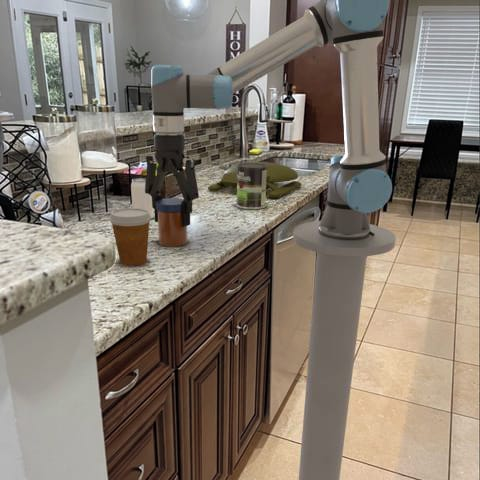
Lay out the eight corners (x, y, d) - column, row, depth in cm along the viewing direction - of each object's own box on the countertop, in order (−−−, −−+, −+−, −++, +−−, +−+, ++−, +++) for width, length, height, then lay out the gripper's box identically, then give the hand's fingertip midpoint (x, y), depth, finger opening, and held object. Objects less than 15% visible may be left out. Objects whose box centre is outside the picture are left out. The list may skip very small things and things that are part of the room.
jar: (188, 238, 139) (187, 200, 135) (186, 246, 132) (185, 206, 128) (160, 238, 139) (159, 200, 135) (157, 246, 132) (155, 206, 128)
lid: (188, 205, 136) (188, 198, 135) (186, 212, 128) (186, 205, 127) (158, 204, 136) (157, 197, 135) (154, 212, 128) (153, 204, 127)
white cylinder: (138, 221, 155) (136, 182, 150) (129, 217, 160) (127, 179, 155) (157, 218, 158) (155, 180, 154) (148, 214, 163) (146, 177, 158)
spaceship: (277, 199, 186) (278, 173, 182) (205, 191, 198) (204, 166, 195) (307, 184, 215) (309, 161, 211) (243, 178, 227) (243, 156, 224)
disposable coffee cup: (106, 266, 117) (102, 216, 112) (122, 254, 126) (118, 206, 121) (146, 269, 116) (142, 218, 111) (158, 256, 124) (156, 208, 120)
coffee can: (250, 211, 170) (251, 168, 164) (230, 205, 177) (230, 164, 171) (271, 206, 176) (273, 165, 170) (252, 201, 183) (252, 162, 178)
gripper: (126, 132, 126) (132, 220, 135) (196, 137, 117) (197, 232, 126) (145, 130, 132) (149, 215, 141) (213, 135, 123) (213, 225, 132)
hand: (172, 223), depth 133 cm, fingers closed on lid, 8 cm apart
